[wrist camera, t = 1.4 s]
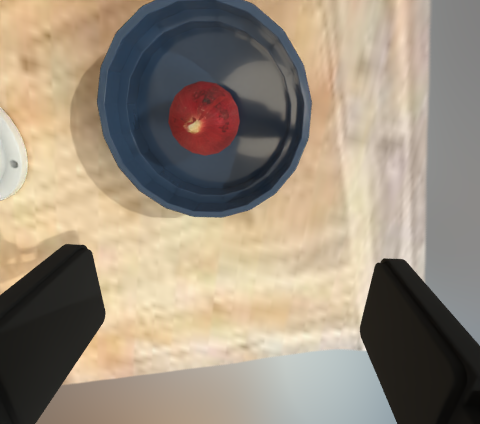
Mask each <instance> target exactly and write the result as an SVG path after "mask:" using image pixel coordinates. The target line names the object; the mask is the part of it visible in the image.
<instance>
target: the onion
mask: <svg viewBox="0 0 480 424" xmlns="http://www.w3.org/2000/svg"><path fill="white" fill-rule="evenodd" d="M239 122H240V120H239V113H238V107H237V105H236V103H235V101H234V100H233V98H232V96H231V94H230V93H229V92H228V91H226V90H225V89H224V88H222V87H221V86H219V85H218V84H217V83H211V82H204V81H199V82H196V83H193V84H190V85H187V86H185V87H184V88H183V89H182V90H181V91H180V92H179V93H178V94H176V95H175V97H174V100H173V102H172V104H171V107H170V111H169V121H168V123H169V126H170V129H171V131H172V134H173V136H174V138H175V139H176V140H177V141H178V143H179V144H180V145H181V146H182V147H184V148H185V149H187V150H189V151H190V152H192V153H196V154H200V155H205V156H206V155H211V154H216V153H219V152H221V151H222V150H223V149H225V148H226V147H227V146H229V145H230V144H231V142H232V141H233V139H234V138H235V136H236V134H237V131H238V126H239Z"/></svg>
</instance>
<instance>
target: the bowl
mask: <svg viewBox="0 0 480 424" xmlns="http://www.w3.org/2000/svg"><path fill="white" fill-rule="evenodd" d="M199 81H204V82H211V83H217V84H218V85H219V86H221V87H222V88H224V89H225V90H226V91H228V92H229V93H230V94H231V96H232V98H233V100H234V101H235V103H236V105H237V107H238V113H239V120H240V122H239V126H238V131H237V134H236V136H235V138H234V139H233V141H232V142H231V144H230V145H229V146H227V147H226V148H225V149H223V150H222V151H221V152H219V153H216V154H211V155H206V156H205V155H200V154H196V153H192V152H190V151H189V150H187V149H185V148H184V147H182V146H181V145H180V144H179V143H178V141H177V140H176V139H175V138H174V136H173V134H172V131H171V129H170V126H169V123H168V121H169V111H170V107H171V104H172V102H173V100H174V97H175V95H176V94H178V93H179V92H180V91H181V90H182V89H183V88H184V87H185V86H187V85H190V84H193V83H196V82H199ZM97 105H98V110H99V116H100V121H101V126H102V131H103V136H104V139H105V141H106V143H107V145H108V147H109V149H110V151H111V153H112V155H113V157H114V159H115V161H116V163H117V165H118V167H119V168H120V170H121V171H122V172H123V173H124V174H125V175H126V176H127V177H128V179H129V180H130V181H131V182H132V183H133V184H134V185H135V186H136V188H137V189H138V190H139V191H140V192H142V193H143V194H145V195H147V196H148V197H150V198H151V199H153V200H154V201H156V202H157V203H159V204H160V205H162V206H163V207H165V208H167V209H171V210H174V211H177V212H180V213H183V214H186V215H189V216H194V217H226V216H230V215H233V214H237V213H241V212H244V211H248V210H250V209H252V208H254V207H256V206H257V205H259V204H260V203H262V202H263V201H265V200H267V199H268V198H270V197H271V196H273V195H274V194H275V193H277V191H278V190H279V189H280V188H281V187H282V185H283V184H284V183H285V182H286V181H287V179H288V178H289V177H290V176H291V175H292V173H293V172H294V171H295V169H296V168H297V165H298V163H299V160H300V158H301V156H302V153H303V151H304V148H305V146H306V144H307V141H308V138H309V129H310V118H311V107H312V100H311V96H310V91H309V86H308V82H307V77H306V72H305V68H304V65H303V63H302V61H301V59H300V57H299V56H298V54H297V52H296V51H295V49H294V47H293V45H292V44H291V42H290V40H289V38H288V37H287V35H286V33H285V32H284V31H283V29H282V28H281V27H280V26H278V25H277V24H276V23H275V22H274V21H273V20H271V19H270V18H269V17H268V16H267V15H266V14H265V13H263V12H262V11H261V10H260V9H259V8H258V7H256V6H255V5H254V4H252V3H250V2H247V1H245V0H154V1H152V2H150V3H148V4H145V5H143V6H142V7H141V8H140V9H139V10H138V11H137V12H136V13H135V14H134V15H133V16H132V17H131V18H130V19H129V20H128V21H127V22H126V23H125V24H124V25H123V26H122V27H121V28H120V29H119V30H118V31H117V32H116V34H115V36H114V38H113V40H112V43H111V45H110V47H109V49H108V52H107V54H106V56H105V58H104V61H103V63H102V65H101V68H100V78H99V88H98V98H97Z"/></svg>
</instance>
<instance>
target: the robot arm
mask: <svg viewBox="0 0 480 424" xmlns="http://www.w3.org/2000/svg"><path fill="white" fill-rule="evenodd" d="M27 169H28V159H27V152H26V148H25V145H24V142H23V139H22V137H21V135H20V133H19V131H18V129H17V127H16V126H15V124H14V123H13V121H12V120H11V118H10V117H9V116H8V115H7V114H6V112H5V111H4V110H3V109H2V108H1V107H0V201H1V200H4V199H6V198H8V197H10V196H12V195H14V194H15V193H16V192H17V191H18V190H19V189H20V188H21V186H22V185H23V183H24V181H25V178H26V175H27ZM104 319H105V308H104V304H103V299H102V295H101V290H100V286H99V281H98V277H97V272H96V268H95V264H94V259H93V255H92V252H91V250H88V249H87V247H86V246H85V245H73V244H65V245H64V246H62V247H61V248H59V249H58V250H57V251H56V252H54V253H53V254H52V255H51V256H49V257H48V258H47V259H46V260H44V261H43V262H42V263H40V264H39V265H38V266H37V267H35V268H34V269H33V270H32V271H30V272H29V273H28V274H27V275H25V276H24V277H23V278H21V279H20V280H19V281H18V282H16V283H15V284H14V285H13V286H11V287H10V288H9V289H8V290H6V291H5V292H4V293H2V294H1V295H0V424H35V423H36V422H37V420H38V419H39V417H40V416H41V414H42V413H43V412H44V410H45V408H46V407H47V405H48V404H49V403H50V401H51V400H52V398H53V397H54V395H55V394H56V392H57V391H58V389H59V388H60V386H61V385H62V383H63V382H64V380H65V379H66V377H67V376H68V374H69V373H70V371H71V370H72V368H73V367H74V365H75V364H76V362H77V361H78V359H79V358H80V356H81V355H82V353H83V352H84V350H85V349H86V347H87V346H88V344H89V343H90V341H91V340H92V338H93V337H94V336H95V334H96V333H97V331H98V330H99V328H100V327H101V325H102V324H103V322H104ZM360 334H361V338H362V341H363V343H364V345H365V348H366V350H367V353H368V355H369V357H370V360H371V362H372V364H373V367H374V369H375V372H376V374H377V376H378V379H379V381H380V384H381V386H382V388H383V391H384V393H385V395H386V398H387V400H388V402H389V405H390V407H391V410H392V412H393V414H394V417H395V419H396V422H397V424H480V346H479V344H478V343H477V342H476V341H475V340H474V339H473V338H472V336H471V335H470V334H469V333H468V332H467V331H466V330H465V328H464V327H463V326H462V325H461V324H460V323H459V322H458V320H457V319H456V318H455V317H454V316H453V315H452V314H451V312H450V311H449V310H448V309H447V308H446V307H445V306H444V304H443V303H442V302H441V301H440V300H439V299H438V298H437V296H436V295H435V294H434V293H433V292H432V291H431V289H430V288H429V287H428V286H427V285H426V284H425V283H424V281H423V280H422V279H421V278H420V277H419V276H418V275H417V273H416V272H415V271H414V270H413V269H412V268H411V267H410V265H409V264H408V263H407V262H406V261H405V260H403V259H383V260H382V261H381V263H377V264H376V265H375V268H374V272H373V276H372V280H371V284H370V288H369V293H368V297H367V301H366V305H365V309H364V313H363V317H362V321H361V325H360Z"/></svg>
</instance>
